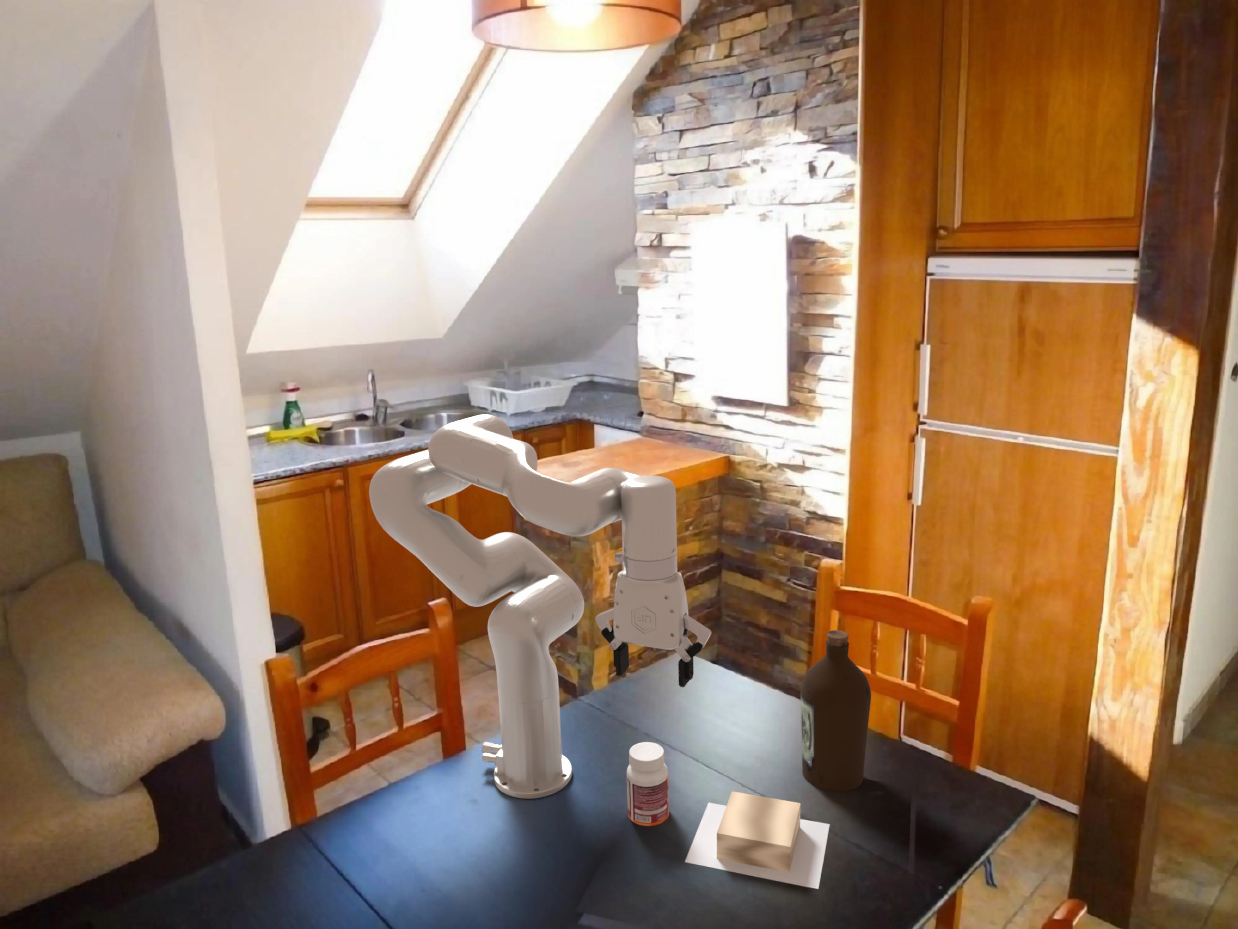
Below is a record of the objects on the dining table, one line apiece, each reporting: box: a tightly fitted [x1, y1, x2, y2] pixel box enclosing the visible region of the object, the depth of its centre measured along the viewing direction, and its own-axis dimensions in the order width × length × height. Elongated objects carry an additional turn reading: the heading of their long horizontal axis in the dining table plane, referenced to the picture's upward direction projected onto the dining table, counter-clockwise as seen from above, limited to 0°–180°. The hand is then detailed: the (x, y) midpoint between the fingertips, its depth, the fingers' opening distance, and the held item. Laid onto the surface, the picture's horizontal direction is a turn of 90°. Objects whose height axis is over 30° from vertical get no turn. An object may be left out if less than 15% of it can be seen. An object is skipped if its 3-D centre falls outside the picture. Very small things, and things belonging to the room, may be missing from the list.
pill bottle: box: [626, 741, 670, 827], centre depth 133 cm, size 6×6×11 cm
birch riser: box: [717, 790, 802, 873], centre depth 126 cm, size 10×10×4 cm
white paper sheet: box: [684, 802, 831, 890], centre depth 127 cm, size 18×14×1 cm
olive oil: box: [799, 629, 872, 793], centre depth 140 cm, size 11×11×25 cm
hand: (653, 677), depth 129 cm, fingers open, 9 cm apart
